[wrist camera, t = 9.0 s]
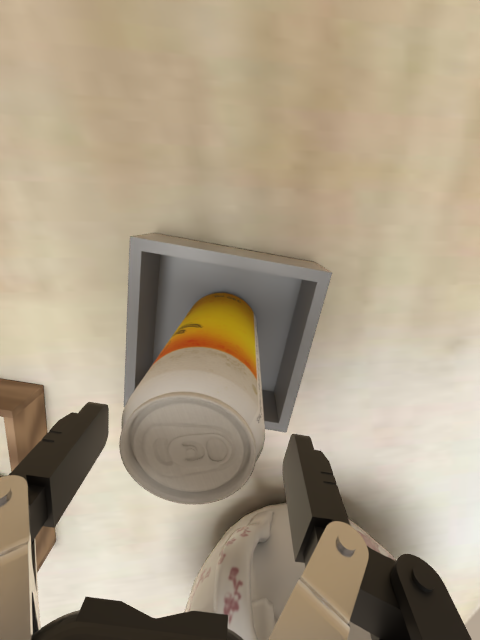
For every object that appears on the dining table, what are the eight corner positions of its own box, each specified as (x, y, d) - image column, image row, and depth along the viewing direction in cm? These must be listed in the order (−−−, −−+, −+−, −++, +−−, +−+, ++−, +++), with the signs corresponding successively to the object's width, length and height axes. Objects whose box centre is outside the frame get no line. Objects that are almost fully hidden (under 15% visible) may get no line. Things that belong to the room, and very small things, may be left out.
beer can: (183, 293, 24) (89, 392, 10) (253, 287, 24) (259, 380, 10) (194, 356, 26) (128, 514, 12) (259, 351, 26) (271, 508, 12)
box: (153, 233, 23) (130, 236, 18) (315, 262, 23) (332, 272, 19) (144, 374, 28) (123, 406, 23) (279, 396, 28) (286, 432, 23)
